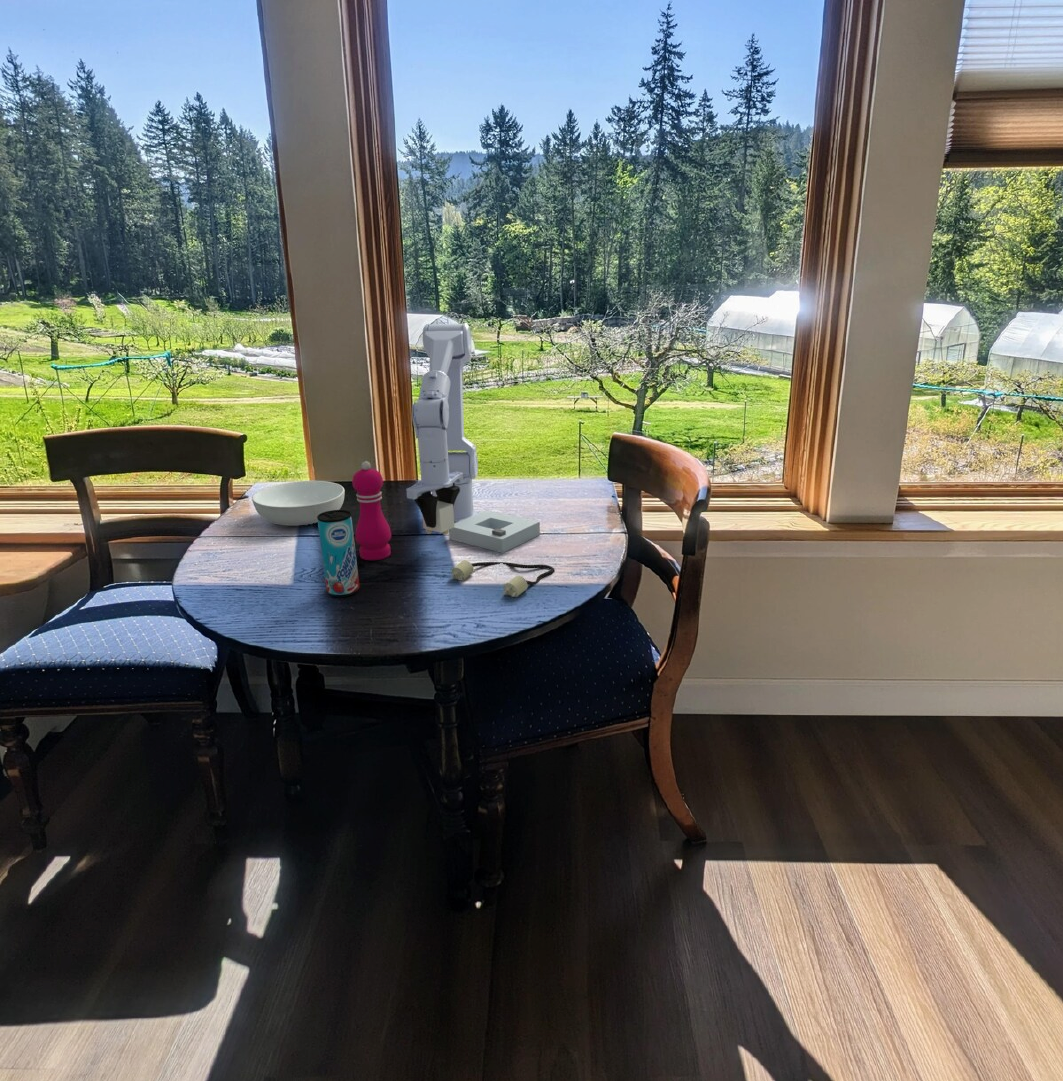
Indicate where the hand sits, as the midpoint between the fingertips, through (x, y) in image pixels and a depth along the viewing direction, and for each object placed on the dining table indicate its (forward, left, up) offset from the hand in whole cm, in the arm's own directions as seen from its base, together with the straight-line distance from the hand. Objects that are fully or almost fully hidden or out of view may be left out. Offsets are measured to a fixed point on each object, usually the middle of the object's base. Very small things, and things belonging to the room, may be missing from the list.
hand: (438, 523), depth 155 cm
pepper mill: (-10, -9, -6) cm, 15 cm away
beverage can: (-1, -25, -6) cm, 26 cm away
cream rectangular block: (0, 0, -2) cm, 2 cm away
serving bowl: (-42, -3, -7) cm, 43 cm away
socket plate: (+4, +13, -6) cm, 15 cm away
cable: (+19, -3, -7) cm, 20 cm away
